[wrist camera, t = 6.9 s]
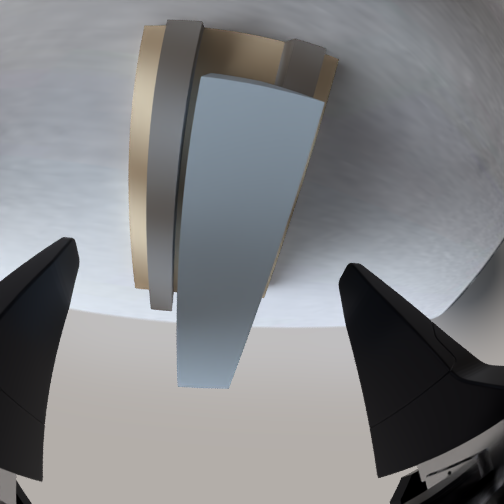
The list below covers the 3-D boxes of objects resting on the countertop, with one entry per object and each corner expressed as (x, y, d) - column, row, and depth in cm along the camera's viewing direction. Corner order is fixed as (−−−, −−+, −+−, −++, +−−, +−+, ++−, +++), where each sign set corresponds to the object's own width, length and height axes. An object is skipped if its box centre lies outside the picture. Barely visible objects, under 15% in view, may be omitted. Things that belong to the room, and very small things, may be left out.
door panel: (211, 72, 9) (200, 75, 3) (260, 81, 9) (324, 101, 4) (184, 267, 15) (177, 386, 9) (220, 270, 15) (228, 388, 10)
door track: (150, 28, 8) (134, 20, 6) (330, 59, 10) (355, 59, 8) (138, 276, 16) (130, 306, 14) (261, 286, 18) (267, 316, 16)
